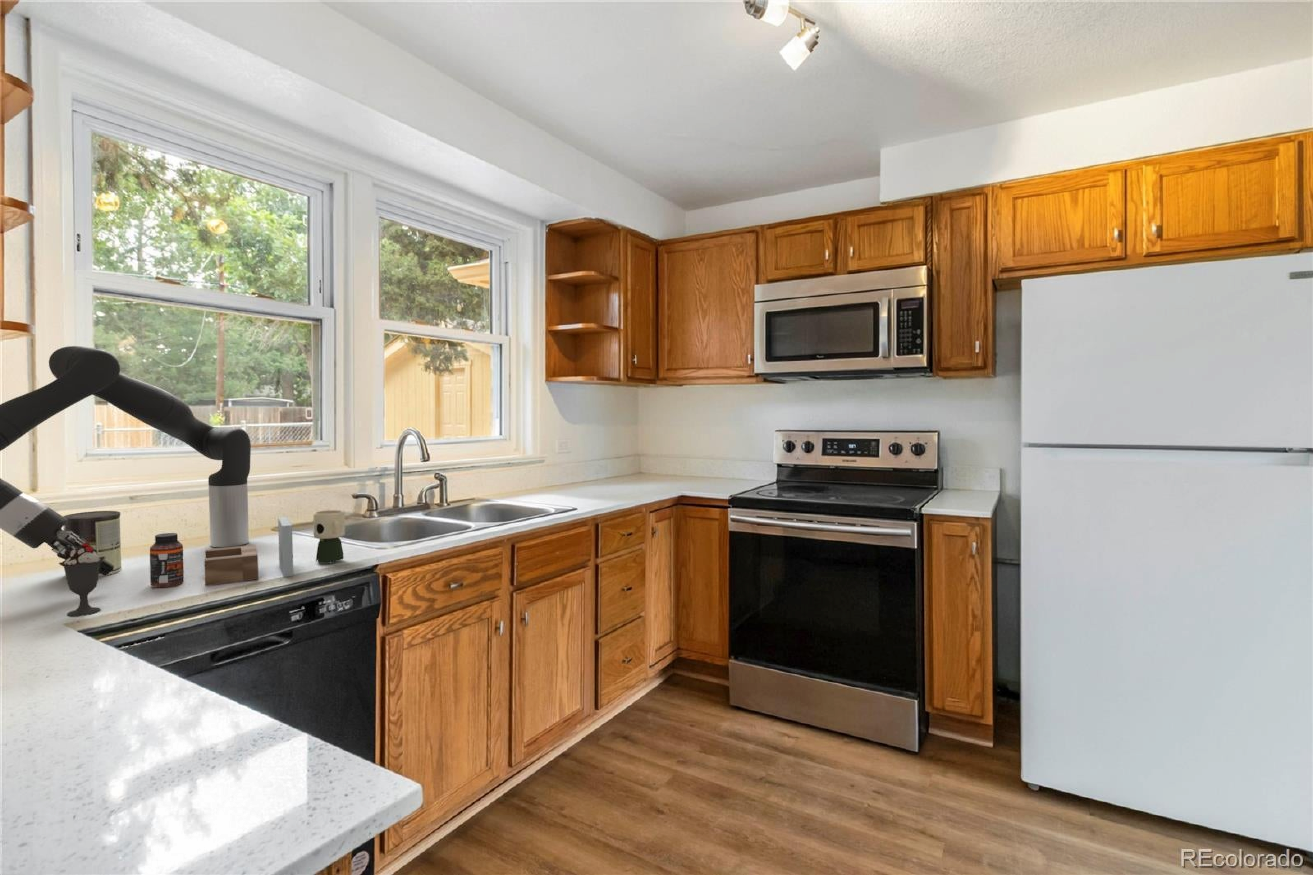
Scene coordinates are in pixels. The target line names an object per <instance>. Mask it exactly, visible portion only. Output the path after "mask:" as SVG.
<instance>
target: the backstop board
mask: <svg viewBox="0 0 1313 875" xmlns="http://www.w3.org/2000/svg"><path fill="white" fill-rule="evenodd" d="M277 524H278V560H279V562H278V563H279V564H278V565H279V569H280V571H281V574H282V577H283V578H284V577H285V578H286V577H293V576H294V555H293V554H294V549H293V548H294V547H293V546H294V544H293V542H294V541H293V524H292V522H291V521H290V519H289V518H288V516H283V517H282V516H281V517H278V518H277Z"/></svg>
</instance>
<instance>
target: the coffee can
mask: <svg viewBox="0 0 1313 875" xmlns="http://www.w3.org/2000/svg"><path fill="white" fill-rule="evenodd" d="M62 516H63V517H65V518H66V519H67V520H68V522H67V523H66V524H65V525H64V526H63V530H64V531H66V532H68V533H71V532H72V533H74V534H76V535H77V536H78V535H79V536H82V538H83V539H84V540H86V541H87V540H88V539H89V538H90V537H91V535H94V536H95V537H94V538H93V537H91V538H92V539H91V538H90V539H91V540H90V539H89V540H90V542H89V540H88V542H89V544H90V545H91V546H92V547H93V548H94V549H96V550H97V553H98V554H99V557H105V559H104V560H106V561H107V562H109V563H110V564H112V565H113V566H114V569H113V570H112V571H111V572H110V573H109V574H108V575H107V576H111V575H115V574H117V573H119V572H121V571H122V570H123V568H122V546H121V544H122V543H121V542H122V541H121V512H120V511H117V510H95V511H83V512H77V513H70V514H66V515H62ZM114 573H115V574H114ZM110 574H111V575H110ZM100 577H105V576H104V575H102V574H101V573H99V576H98V578H100ZM64 578H66V574H65V575H64Z"/></svg>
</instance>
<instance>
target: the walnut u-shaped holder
mask: <svg viewBox="0 0 1313 875" xmlns="http://www.w3.org/2000/svg"><path fill="white" fill-rule="evenodd" d="M204 553H205V558H204V559H203V560H204V585H205V586H211V585H218V584H219V585H220V584H229V583H235V582H243V581H253V580H258V579H259V557H258V556H259V555H258V550H257V546H256V544H249V545H248V544H247V545H246V544H245V545H238V546H231V547H214V548H208V549H205V552H204Z"/></svg>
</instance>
